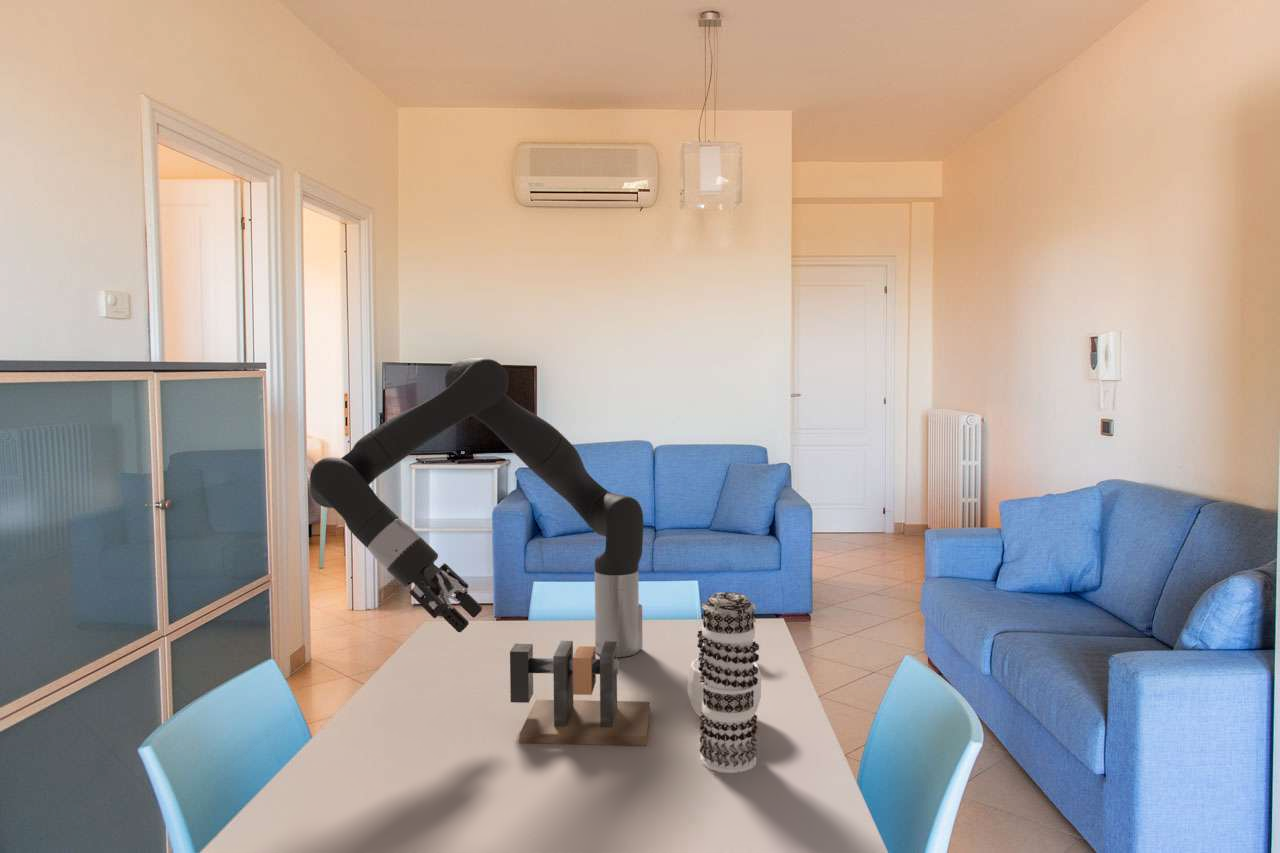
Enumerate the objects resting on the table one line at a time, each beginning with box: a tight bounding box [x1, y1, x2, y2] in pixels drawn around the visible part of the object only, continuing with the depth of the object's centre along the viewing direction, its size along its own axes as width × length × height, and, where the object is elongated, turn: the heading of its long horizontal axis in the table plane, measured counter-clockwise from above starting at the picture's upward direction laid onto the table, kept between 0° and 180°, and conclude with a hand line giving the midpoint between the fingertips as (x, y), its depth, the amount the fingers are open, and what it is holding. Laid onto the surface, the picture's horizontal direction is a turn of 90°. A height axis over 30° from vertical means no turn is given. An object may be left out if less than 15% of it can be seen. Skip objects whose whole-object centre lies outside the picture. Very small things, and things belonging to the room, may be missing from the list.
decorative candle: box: [697, 591, 760, 774], centre depth 124 cm, size 9×9×25 cm
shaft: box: [509, 643, 619, 704], centre depth 138 cm, size 18×4×8 cm, turn 86°
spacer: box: [573, 645, 597, 696], centre depth 137 cm, size 3×6×6 cm, turn 176°
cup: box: [687, 657, 762, 718], centre depth 139 cm, size 12×12×10 cm
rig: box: [519, 640, 651, 746], centre depth 137 cm, size 20×14×13 cm
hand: (471, 620), depth 138 cm, fingers open, 8 cm apart
